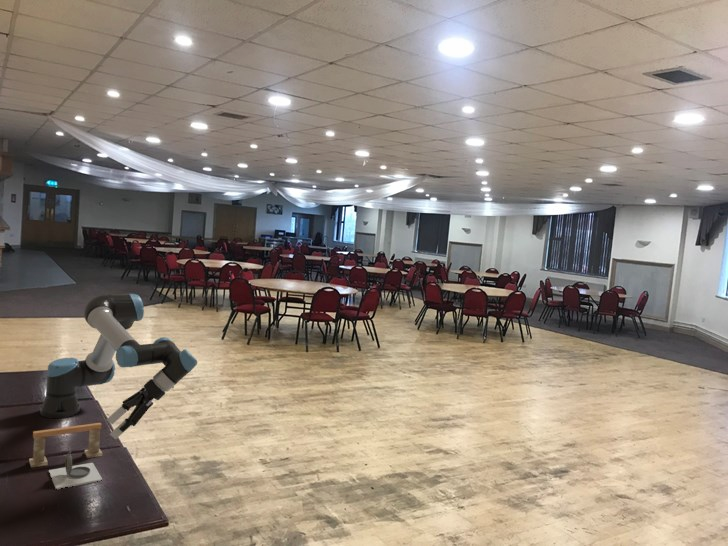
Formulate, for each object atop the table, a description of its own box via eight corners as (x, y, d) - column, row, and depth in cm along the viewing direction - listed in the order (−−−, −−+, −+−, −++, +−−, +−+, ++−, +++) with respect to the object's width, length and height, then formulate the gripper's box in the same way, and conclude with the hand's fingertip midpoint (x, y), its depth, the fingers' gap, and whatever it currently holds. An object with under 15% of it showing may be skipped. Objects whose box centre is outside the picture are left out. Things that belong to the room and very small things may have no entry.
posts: (31, 467, 191) (32, 440, 190) (29, 462, 195) (30, 434, 194) (102, 455, 206) (103, 430, 205) (98, 450, 210) (100, 425, 209)
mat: (48, 471, 190) (48, 470, 190) (92, 464, 199) (92, 462, 199) (56, 489, 179) (56, 488, 179) (102, 480, 188) (102, 479, 188)
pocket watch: (94, 472, 192) (96, 444, 191) (74, 482, 184) (76, 453, 183) (76, 466, 194) (78, 439, 194) (56, 476, 187) (57, 447, 186)
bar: (33, 438, 192) (33, 433, 192) (32, 436, 193) (33, 431, 193) (101, 428, 206) (101, 424, 206) (100, 427, 207) (100, 422, 207)
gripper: (172, 403, 189) (122, 450, 183) (160, 381, 211) (115, 422, 205) (157, 389, 186) (105, 436, 180) (147, 368, 208) (100, 409, 202)
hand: (110, 429), depth 193 cm, fingers open, 13 cm apart
